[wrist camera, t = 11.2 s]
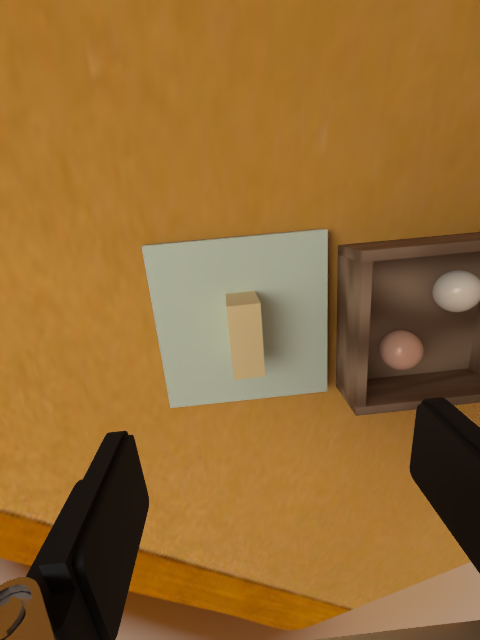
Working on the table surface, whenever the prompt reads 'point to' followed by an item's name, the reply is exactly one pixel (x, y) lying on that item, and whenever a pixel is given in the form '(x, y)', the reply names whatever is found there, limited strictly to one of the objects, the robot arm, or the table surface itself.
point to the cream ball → (457, 291)
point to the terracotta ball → (401, 350)
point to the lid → (241, 315)
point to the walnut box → (405, 323)
